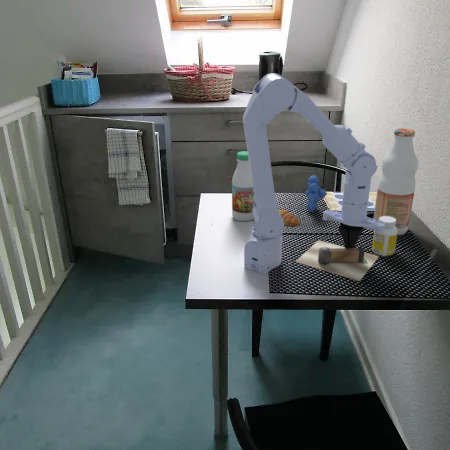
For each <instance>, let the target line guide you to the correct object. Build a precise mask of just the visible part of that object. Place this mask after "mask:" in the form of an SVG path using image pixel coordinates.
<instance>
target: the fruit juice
mask: <svg viewBox="0 0 450 450" xmlns="http://www.w3.org/2000/svg"><path fill="white" fill-rule="evenodd" d="M415 135H416V131H415V130H414V129H412V128H404V127H403V128H396V129H394V132H393V136H394V139H393V141H392V144H391V146H390V147H389V149H388V151H387V152H386V154H385V155H384V156H383V157H382V159H381V163H380V164H381V175H380V176H379V179H378V183H377V191H376V199H375V205H374V214H373V219H374V220H376V221H379V218H380V217H382V216H390V217H393V218H395V219H396V225H395V227H396V228H397V231H398V232H397V236H401V235H405V234H406V233H407V232H408V230H409V225H410V220H411V213H412V208H413V202H414V197H415V196H414V195H415V191H416V185H417V184H416V181H417V180H416V177H415V175H416V173H417V171H418V168H419V159H418V157H417V155H416V153H415V149H414V148H415V147H414V143H413V142H414V141H413V139H414V138H415Z"/></svg>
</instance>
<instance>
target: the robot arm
mask: <svg viewBox="0 0 450 450" xmlns="http://www.w3.org/2000/svg"><path fill="white" fill-rule="evenodd" d="M286 110H288V112H292V113H298V114H300V115H301V116H303V118H305V119H306V120H307V121H308V122H309V123H310V124H311V125H312V126H313V127H314V128H315V129H316V130H317V131H318V132H319V133H320V134H321V136H322V145H323V146H324V147H325V148H326V149H327V150H328V151H329V153H331V155H333V156H334V157H335V158H336V159H337V160H338V161H339V162H340V163H341V164H342V166H343V167H344V168H346V170H345V178H344V183H343V193H342V194H343V195H342V204H341V211H336V210H329V209H326V210H325V211H323V213H322V220H323V221H330V222H331V221H333V222H336V223H340V225H339V226H338V232H339V234H340V235H341V239H342V241H343V245H344V247H345V248H356V245H357V242H358V240H359V239H360V237H361V235H362V233H363V232H364V231H365V229H366V230H369V231H373V232H374V231H377V233H380V234H382V233H383V232H384V230H385V223H382V222H379V221H376V220H374V218H371V217H368V216H367V213H368V204H369V199H370V191H371V190H370V189H371V182H372V181H371V180H372V177H373V176H375V173H376V172H377V170H378V167H379V166H378V165H377V162H376V161H377V160H376V158H375V157H374V156H373V155H372V154H371V153H369V151H367V150H366V145H365V143H363V142H360V141H358V140H357V139H356V137H355V136H353V134H352V133H353V130H352V129H351V128H350V127H349V126H346V127H345V126H344V125H342V124H334V123H332V121H331V120H330V119H329V118H328V117H327V116H326V115H325V113H324V112H323V111H322V110H321V109H320V108H319V107H318V106H317V105H316V103H315V102H314V101H313V100H312V99H311V97H309V95H307V94H306V93H304V92H303V91H302V90H301V89H299V88H298V87H297V86H295V85H293V83H292V82H291V81H289V80H288V79H286V78H284V77H283V76H282V75H280V74H278V73H274V72H273V73H267V74H266V75H264V76H263V77H262V78H261V79H260V80H259V81H258V82H257V83H256V84H255V85H254V87H253V90H252V94H251V95H250V98H249V101H248V103H247V106H246V108H245V109H244V113H243V115H242V123H243V132H244V139H245V142H246V151H248V158H249V164H250V171H251V177H252V184H253V191H254V205H253V208H252V215H253V217H254V224H253V226H252V228H251V235H250V238H249V240H247V242H246V243H245V245H244V248H243V250H244V251H243V252H244V253H243V254H244V260H243V261H244V262H243V263H244V268H245V269H249V270H252V271H254V272H256V273H257V272H258V273H260V274H263V275H267V274H268V273H269V272H270V271H271V270H273V269H274V268H277V267H279V266H280V265H281V264H282V258H283V257H282V254H283V253H282V252H283V231H284V230H285V229H284V228H285V225H284V220H283V218H282V217H281V215H280V213H279V211H278V209H279V206H278V202H277V198H276V194H275V193H276V192H275V187H274V186H275V185H274V179H273V170H272V163H271V154H270V147H269V141H268V132H267V126H268V124H269V123H270V122H271V121H272V120H273V119H274V118H275V116H277V115H280V114H281V113H282V112H284V111H286Z"/></svg>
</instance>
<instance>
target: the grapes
mask: <svg viewBox="0 0 450 450" xmlns="http://www.w3.org/2000/svg"><path fill="white" fill-rule="evenodd" d="M307 181H308V183H307V184H306V186H307V188H308V189H307V190H306V191H305V192H304V195H305V196H306V197H307V199H308V200H307V201H306V208H307V210H308V211H309V212H311V213H314V212H315V211H316V210H317V209H318V207H319V205H318V202H319V201H320V199H324V198H325V197H326V196H327V195H328V193H327V191H326V190H325V189H323V188H321V187H320V185H318V184H319V182H320V180H319V178H318V176H316V175H315V174H313V175H310V177H309V178H307Z"/></svg>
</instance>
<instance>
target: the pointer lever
mask: <svg viewBox="0 0 450 450" xmlns="http://www.w3.org/2000/svg"><path fill="white" fill-rule="evenodd" d="M364 252H365V249H364V248H363V247H355V248H337V249H330V248H327V247H322V248H320V249H319V255H318V262H319V263H321V264H329V263H337V262H363V260H364ZM365 253H366V252H365Z"/></svg>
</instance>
